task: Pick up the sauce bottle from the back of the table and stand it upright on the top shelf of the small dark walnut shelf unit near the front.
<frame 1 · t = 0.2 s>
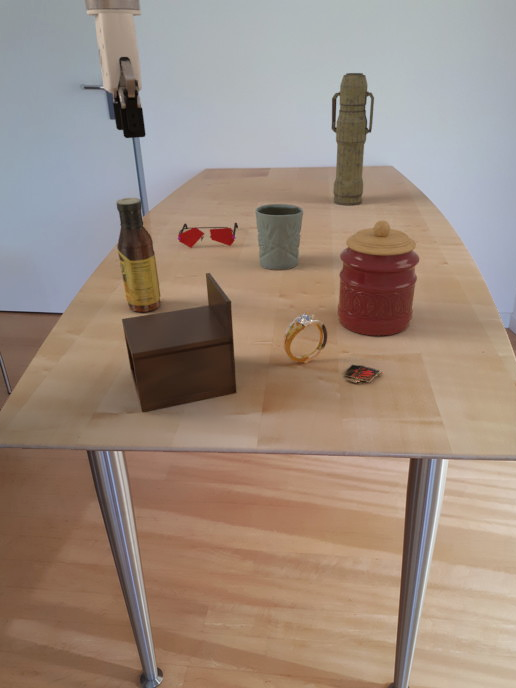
hand: (130, 133, 86), 30 cm above the table, tool pointing down, fingers open, 9 cm apart
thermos: (347, 202, 169), on the table
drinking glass: (279, 264, 122), on the table
matchbox: (361, 376, 80), on the table
sauce bottle: (145, 308, 103), on the table
glasses: (209, 239, 139), on the table
kitchen canister: (373, 321, 97), on the table
shelf: (182, 382, 79), on the table
ring: (305, 363, 84), on the table
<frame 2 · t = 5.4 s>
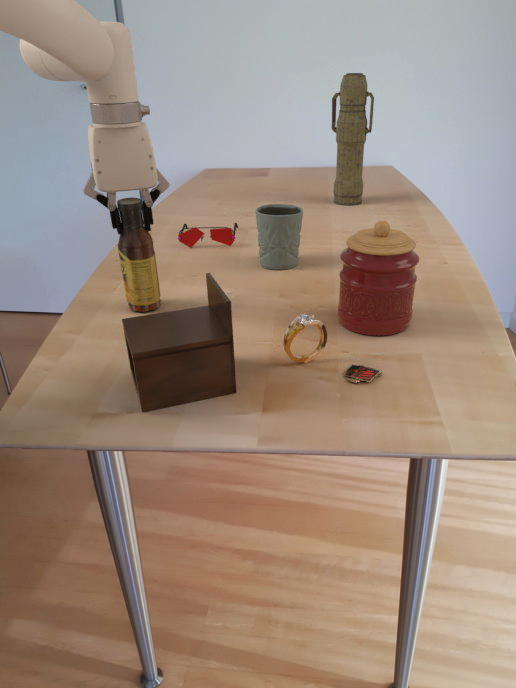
hand: (133, 229, 95), 15 cm above the table, tool pointing down, fingers closed on sauce bottle, 4 cm apart
sauce bottle: (144, 308, 103), on the table, touching gripper
everything else where it was.
when the fingers open (24 cm above the table, at t = 12.2 s): sauce bottle stays where it is, resting on shelf.
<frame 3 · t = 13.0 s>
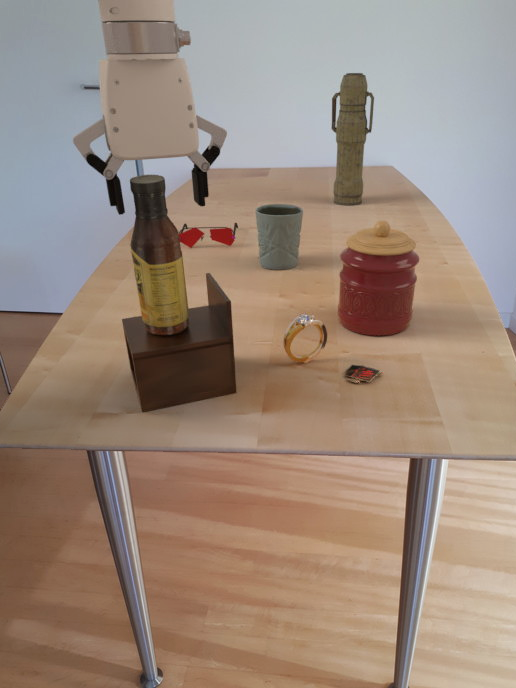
hand: (161, 207, 66), 25 cm above the table, tool pointing down, fingers open, 9 cm apart
sauce bottle: (167, 329, 75), point 9 cm above the table, touching shelf
everything else where it was.
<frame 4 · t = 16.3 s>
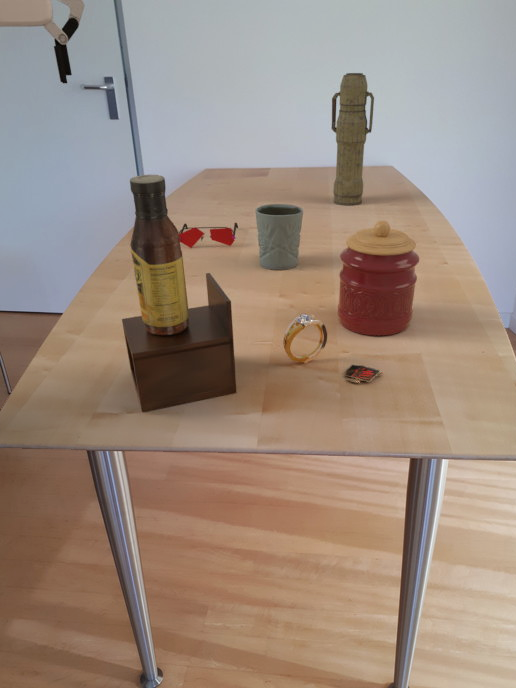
hand: (21, 83, 65), 38 cm above the table, tool pointing down, fingers open, 9 cm apart
nothing on the table moved.
at the end: sauce bottle inside the target area on the shelf (1.2 cm from its centre), point 8.8 cm above the shelf's base; sauce bottle tilted 0°; the gripper is holding nothing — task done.
